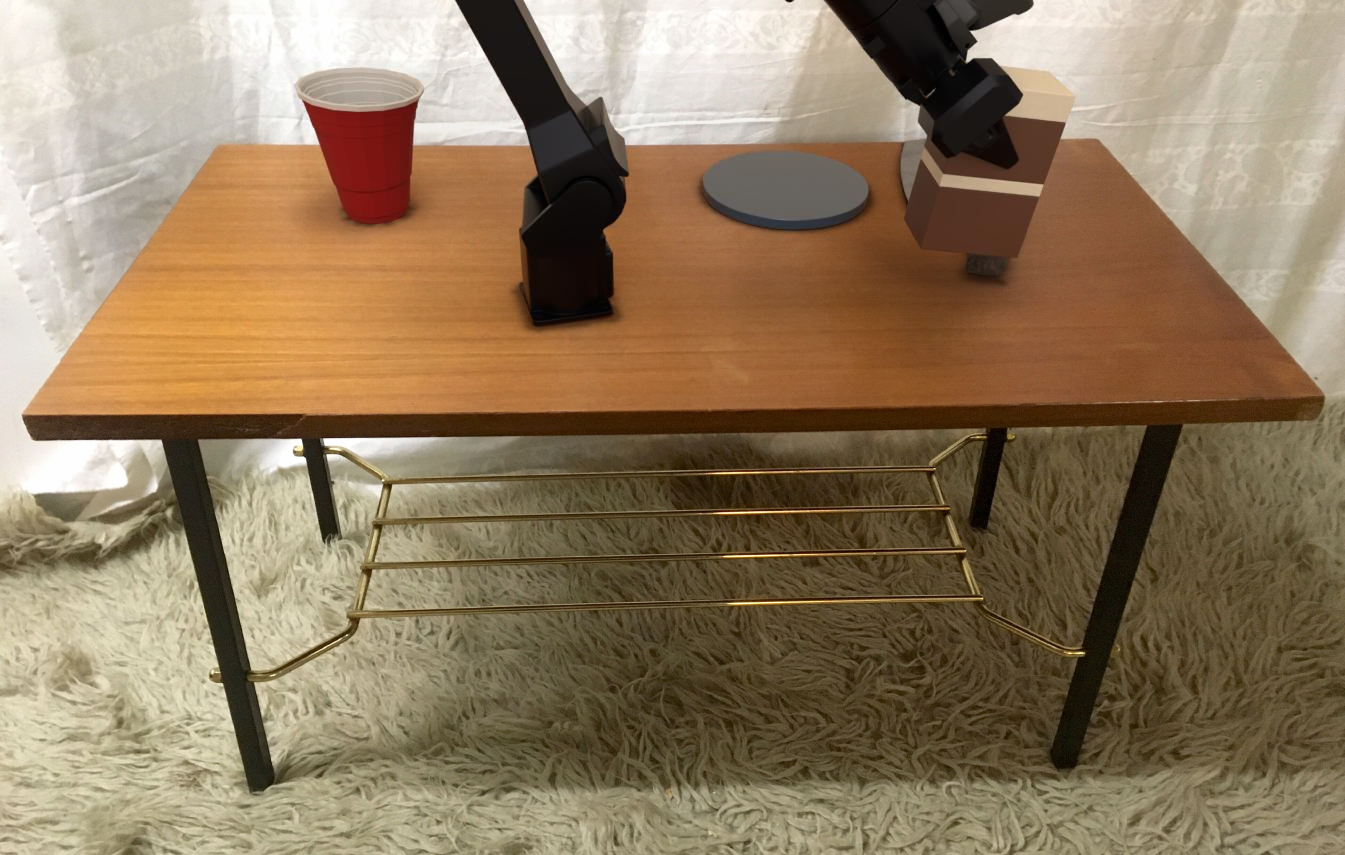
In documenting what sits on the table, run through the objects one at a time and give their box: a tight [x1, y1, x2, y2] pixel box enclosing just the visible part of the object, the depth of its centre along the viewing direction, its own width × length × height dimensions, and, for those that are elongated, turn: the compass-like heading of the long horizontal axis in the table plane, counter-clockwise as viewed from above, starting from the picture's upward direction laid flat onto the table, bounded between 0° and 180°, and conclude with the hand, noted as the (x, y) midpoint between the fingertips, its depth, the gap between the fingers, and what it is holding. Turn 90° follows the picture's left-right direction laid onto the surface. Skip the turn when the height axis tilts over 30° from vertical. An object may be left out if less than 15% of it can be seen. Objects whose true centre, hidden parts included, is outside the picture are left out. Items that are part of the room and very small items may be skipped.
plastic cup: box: [293, 67, 425, 224], centre depth 95 cm, size 11×11×12 cm
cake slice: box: [903, 60, 1077, 259], centre depth 81 cm, size 8×6×13 cm
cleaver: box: [899, 138, 1010, 277], centre depth 101 cm, size 29×10×2 cm, turn 173°
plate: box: [702, 149, 870, 231], centre depth 103 cm, size 16×16×1 cm
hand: (1000, 149), depth 81 cm, fingers closed on cake slice, 5 cm apart
